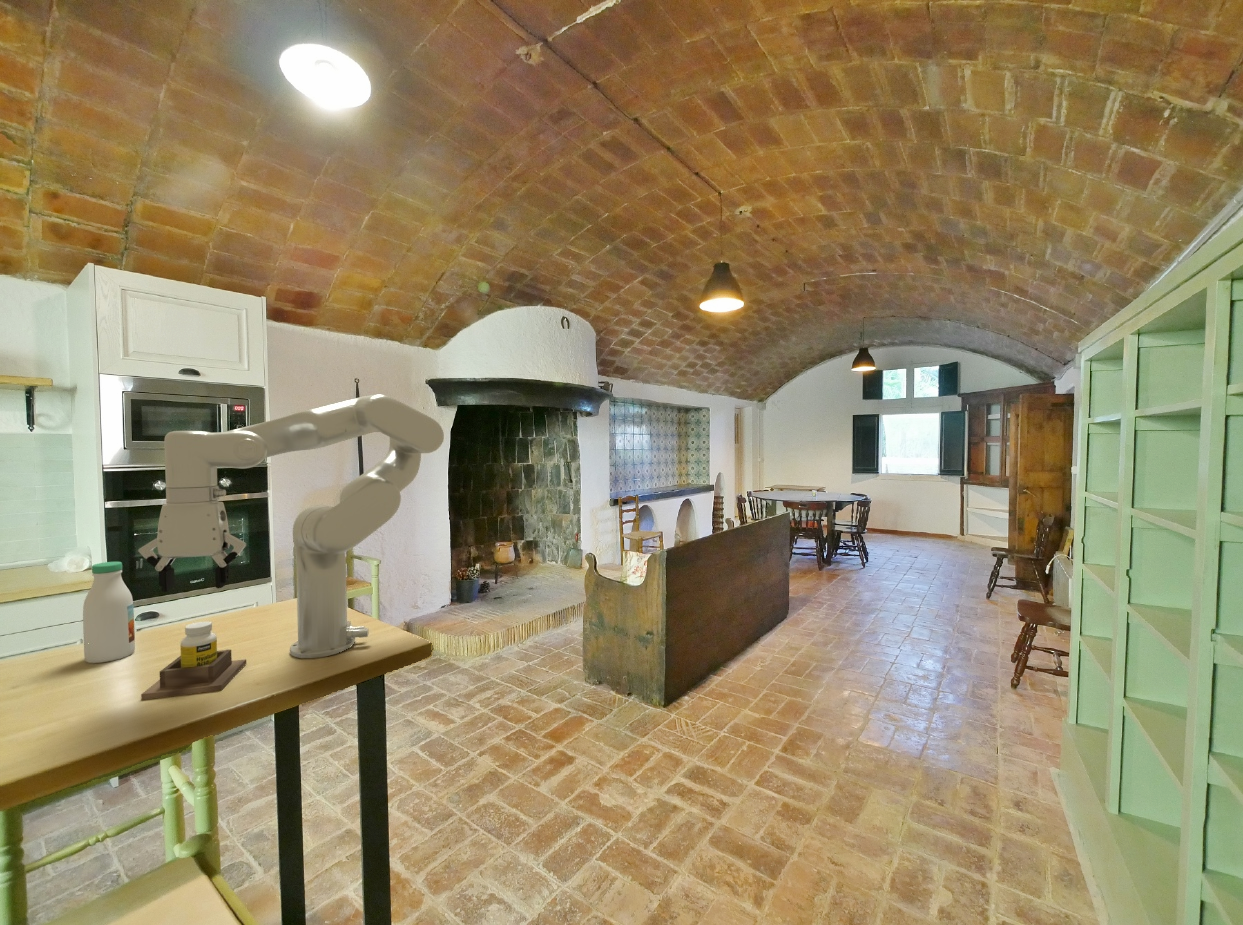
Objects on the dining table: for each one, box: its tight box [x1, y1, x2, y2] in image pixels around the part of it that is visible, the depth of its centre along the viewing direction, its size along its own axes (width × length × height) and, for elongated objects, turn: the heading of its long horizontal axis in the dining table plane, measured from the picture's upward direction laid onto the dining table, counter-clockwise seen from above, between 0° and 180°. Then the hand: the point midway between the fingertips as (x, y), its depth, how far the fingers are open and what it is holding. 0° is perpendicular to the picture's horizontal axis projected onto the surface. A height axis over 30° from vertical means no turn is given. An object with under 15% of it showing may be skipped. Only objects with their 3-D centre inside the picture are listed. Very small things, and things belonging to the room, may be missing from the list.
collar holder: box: [140, 649, 247, 701], centre depth 100 cm, size 12×12×4 cm
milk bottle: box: [82, 561, 136, 664], centre depth 111 cm, size 8×8×20 cm
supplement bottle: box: [180, 620, 218, 668], centre depth 100 cm, size 5×5×10 cm
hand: (195, 587), depth 100 cm, fingers open, 7 cm apart
